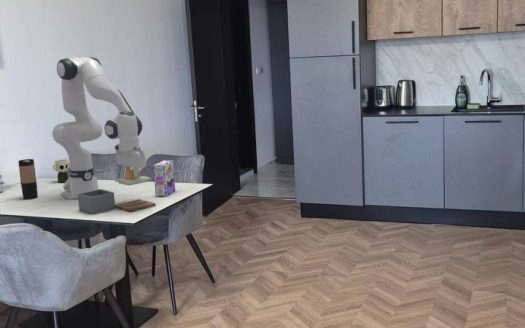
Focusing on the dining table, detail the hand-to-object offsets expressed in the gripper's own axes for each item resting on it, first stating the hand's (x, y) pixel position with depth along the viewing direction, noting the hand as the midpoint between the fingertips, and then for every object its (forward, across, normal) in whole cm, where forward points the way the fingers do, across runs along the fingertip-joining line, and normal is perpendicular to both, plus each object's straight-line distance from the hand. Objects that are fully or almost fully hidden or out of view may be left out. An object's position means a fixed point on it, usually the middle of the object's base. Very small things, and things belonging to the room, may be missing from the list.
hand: (132, 175), depth 267 cm
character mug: (+14, +88, -7) cm, 89 cm away
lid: (+3, 0, 0) cm, 3 cm away
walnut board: (+15, 0, 0) cm, 15 cm away
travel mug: (+14, +64, +23) cm, 69 cm away
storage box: (+15, +10, +14) cm, 23 cm away
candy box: (+15, +10, -25) cm, 31 cm away
